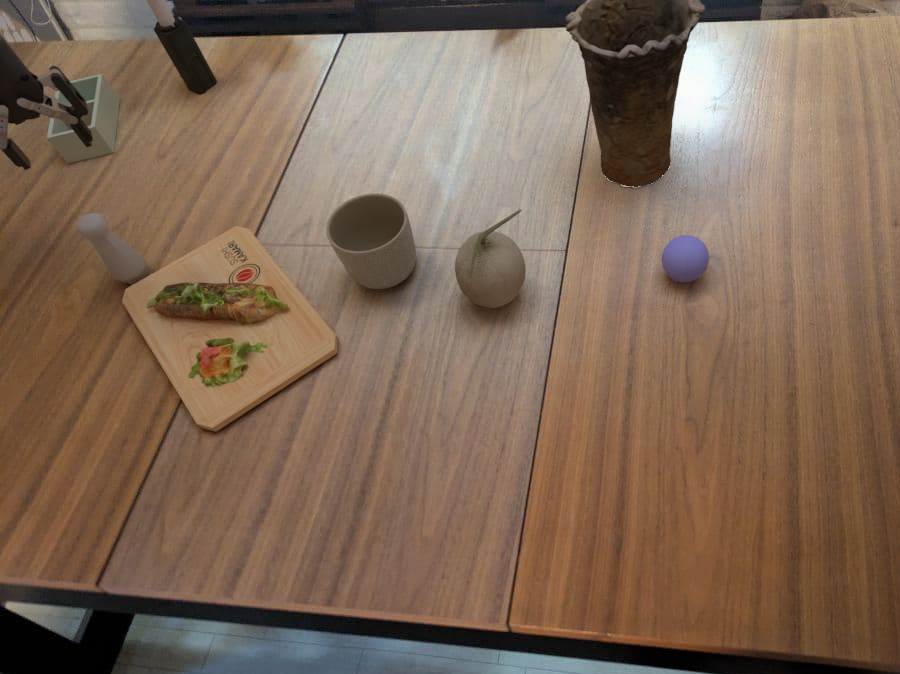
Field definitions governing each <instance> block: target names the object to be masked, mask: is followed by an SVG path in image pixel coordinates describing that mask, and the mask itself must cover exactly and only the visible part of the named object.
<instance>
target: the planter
mask: <svg viewBox="0 0 900 674" xmlns="http://www.w3.org/2000/svg"><path fill="white" fill-rule="evenodd" d="M325 233H326V237H327V240H328V242H329V244H330V246H331V248H332V249H333V251H334V253H335V255H336V256H337V258H338V259H339V261H340V262H341V264H342V266H343V267H344V269H345V270H346V271H347V273H348V274H349V276H350V277H351V278H352V279H353V280H354V281H355V282H356V283H358V284H359V285H360V286H361V287H362V286H363V287H365V288H367V289H373V290H384V289H390V288H392V287H395V286H397V285H400V284H401V283H402V282H404V281H405V280H406V279H407V278H408V277H409V276H410V275H411V274H412V273H413V270H414V268H415V265H416V261H417V250H416V243H415V238H414V234H413V230H412V226H411V221H410V218H409V216H408V212H407V209H406V208H405V206H404V204H403V203H402V202H401V201H400V200H398V199H397V198H395V197H394V196H393V195H389V194H385V193H379V192H378V193H377V192H376V193H365V194H361V195H358V196H354V197H352V198H350V199H348V200H346V201H344V202H343V203H341V204H340V205H339V206H338V207H336V208H335V210H334V211H332V213H331V215H330V216H329V217H328V219H327V222H326V228H325Z"/></svg>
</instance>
